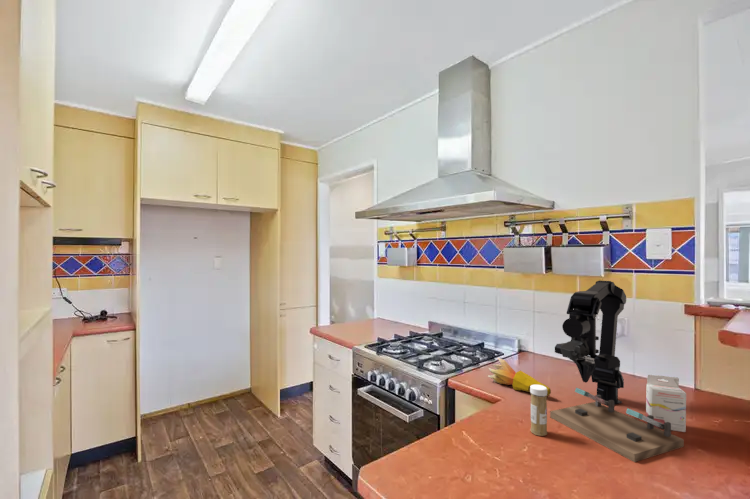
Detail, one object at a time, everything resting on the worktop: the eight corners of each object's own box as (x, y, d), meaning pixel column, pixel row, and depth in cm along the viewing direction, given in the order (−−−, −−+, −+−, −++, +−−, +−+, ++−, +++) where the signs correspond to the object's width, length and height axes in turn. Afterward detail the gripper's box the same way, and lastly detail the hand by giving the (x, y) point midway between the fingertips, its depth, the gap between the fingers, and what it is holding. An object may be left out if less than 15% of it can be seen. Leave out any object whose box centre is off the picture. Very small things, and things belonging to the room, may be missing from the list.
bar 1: (600, 403, 118) (602, 399, 119) (610, 407, 115) (611, 403, 116) (574, 391, 114) (576, 387, 114) (583, 395, 111) (585, 391, 111)
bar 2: (653, 425, 103) (654, 420, 104) (665, 430, 100) (667, 425, 101) (625, 413, 99) (627, 408, 99) (638, 418, 96) (639, 412, 96)
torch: (546, 411, 128) (487, 381, 148) (557, 396, 132) (499, 369, 152) (543, 394, 125) (483, 366, 145) (554, 379, 129) (495, 354, 149)
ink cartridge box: (651, 428, 108) (651, 379, 108) (645, 420, 113) (645, 373, 113) (686, 432, 105) (686, 382, 105) (678, 425, 110) (678, 376, 110)
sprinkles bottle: (548, 437, 102) (548, 390, 102) (531, 435, 104) (531, 388, 104) (545, 430, 107) (546, 384, 107) (529, 427, 108) (529, 383, 108)
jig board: (594, 407, 122) (594, 391, 122) (683, 446, 98) (683, 426, 98) (550, 417, 115) (550, 400, 115) (634, 462, 91) (634, 440, 91)
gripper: (542, 328, 119) (542, 375, 119) (594, 342, 102) (594, 397, 102) (566, 326, 123) (566, 371, 123) (621, 338, 106) (621, 391, 106)
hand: (585, 382), depth 114 cm, fingers closed
